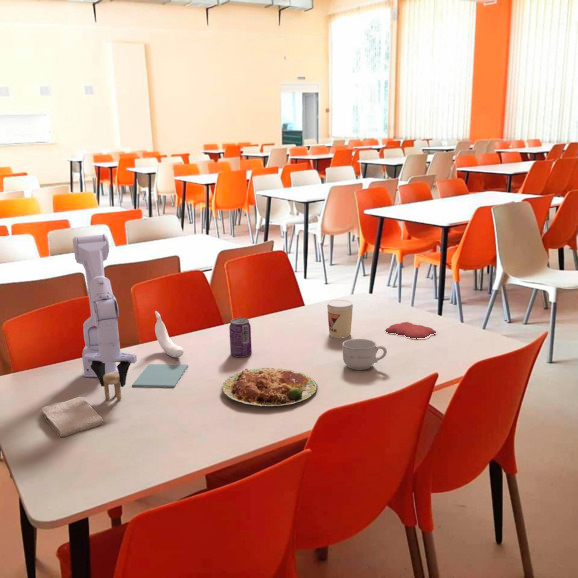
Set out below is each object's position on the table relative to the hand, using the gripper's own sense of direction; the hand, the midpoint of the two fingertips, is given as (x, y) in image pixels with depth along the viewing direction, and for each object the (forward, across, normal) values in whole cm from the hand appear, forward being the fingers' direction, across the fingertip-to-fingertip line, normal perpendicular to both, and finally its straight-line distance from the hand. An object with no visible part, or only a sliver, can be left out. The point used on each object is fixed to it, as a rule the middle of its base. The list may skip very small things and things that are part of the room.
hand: (113, 385), depth 177 cm
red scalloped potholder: (+5, +90, +60) cm, 108 cm away
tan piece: (+4, 0, 0) cm, 4 cm away
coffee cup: (+4, +64, +56) cm, 85 cm away
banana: (+4, +8, +33) cm, 34 cm away
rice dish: (+5, +44, +8) cm, 45 cm away
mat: (+4, +9, +16) cm, 19 cm away
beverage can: (+4, +31, +35) cm, 47 cm away
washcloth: (+5, -7, -13) cm, 16 cm away
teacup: (+4, +72, +26) cm, 77 cm away
